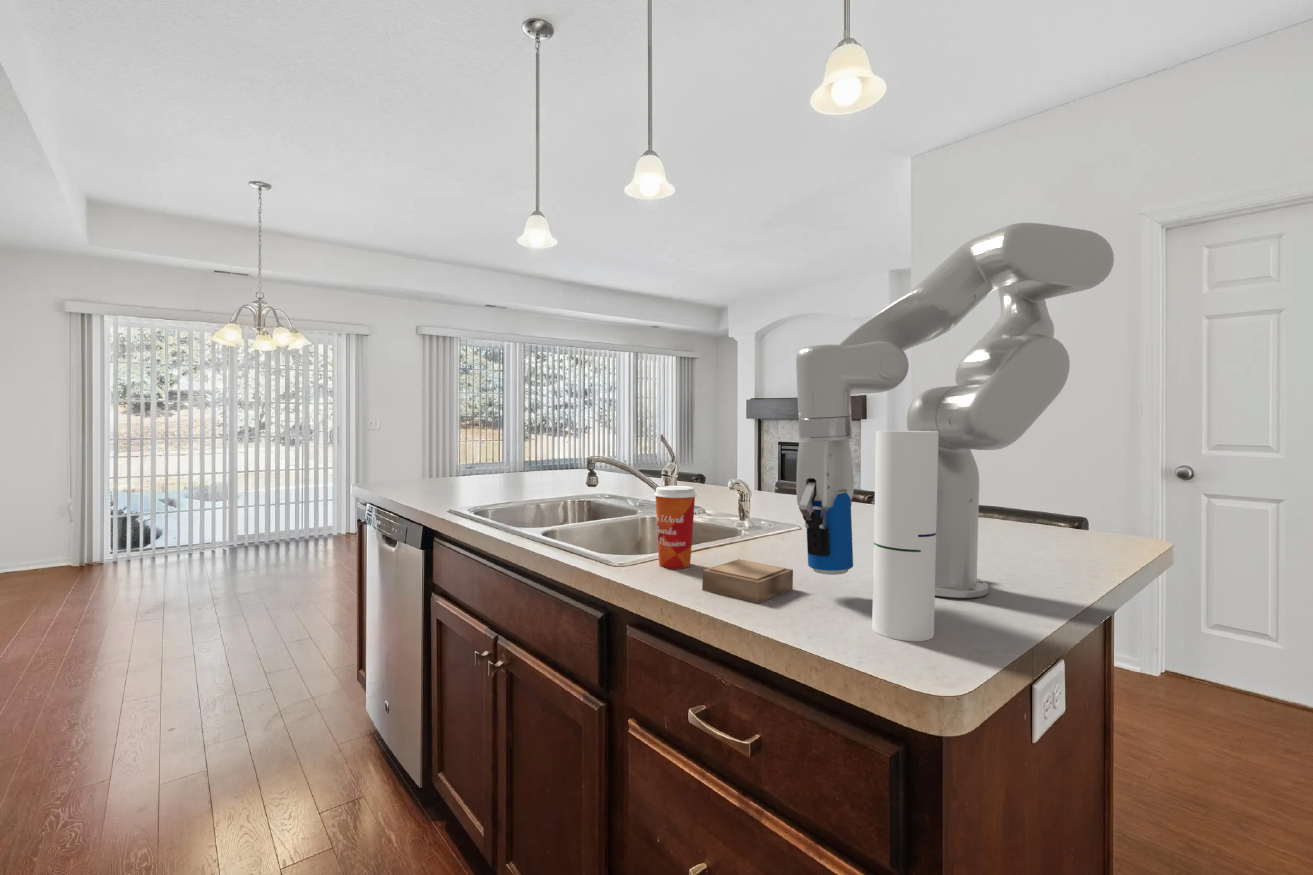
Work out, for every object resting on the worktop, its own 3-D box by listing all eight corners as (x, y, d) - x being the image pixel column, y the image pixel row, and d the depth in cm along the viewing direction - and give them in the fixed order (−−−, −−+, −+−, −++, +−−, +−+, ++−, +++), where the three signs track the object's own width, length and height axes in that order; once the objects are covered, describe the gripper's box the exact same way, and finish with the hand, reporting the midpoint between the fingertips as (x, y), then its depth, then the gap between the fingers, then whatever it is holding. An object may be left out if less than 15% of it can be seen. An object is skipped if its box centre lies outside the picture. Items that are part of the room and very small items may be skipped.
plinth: (738, 577, 99) (738, 557, 99) (792, 588, 92) (793, 568, 92) (702, 589, 91) (702, 568, 91) (758, 603, 85) (758, 580, 85)
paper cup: (644, 565, 106) (645, 487, 106) (671, 557, 112) (672, 484, 112) (678, 572, 101) (679, 491, 101) (705, 564, 107) (705, 487, 107)
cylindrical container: (947, 638, 72) (952, 431, 71) (897, 643, 70) (902, 431, 69) (906, 618, 79) (910, 430, 78) (860, 623, 77) (864, 430, 76)
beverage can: (856, 576, 85) (852, 493, 84) (809, 576, 86) (805, 494, 85) (850, 564, 91) (847, 486, 90) (807, 564, 92) (804, 487, 92)
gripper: (827, 426, 96) (831, 536, 97) (772, 434, 83) (778, 559, 84) (873, 425, 91) (877, 540, 92) (822, 433, 78) (827, 566, 79)
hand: (829, 548), depth 88 cm, fingers closed on beverage can, 6 cm apart
